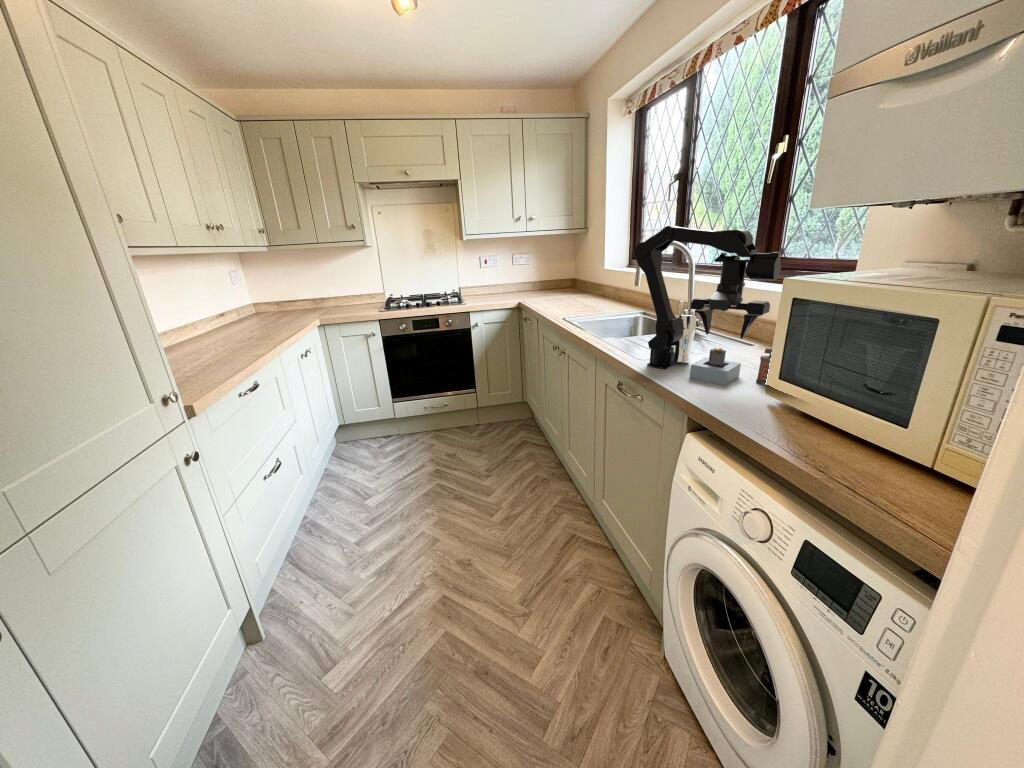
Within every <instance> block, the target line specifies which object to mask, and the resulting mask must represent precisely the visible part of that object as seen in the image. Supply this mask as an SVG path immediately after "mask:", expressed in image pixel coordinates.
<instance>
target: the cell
mask: <svg viewBox="0 0 1024 768" xmlns="http://www.w3.org/2000/svg"><path fill="white" fill-rule="evenodd" d="M726 352H727V351H726V350H724V349H723V348H721V347H714V348H712V349H710V350H709V355H708V356H709V357H708V358H709V363H708V365H709V366H715V367H720V368H723V367H724V361H726V354H727V353H726Z"/></svg>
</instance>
